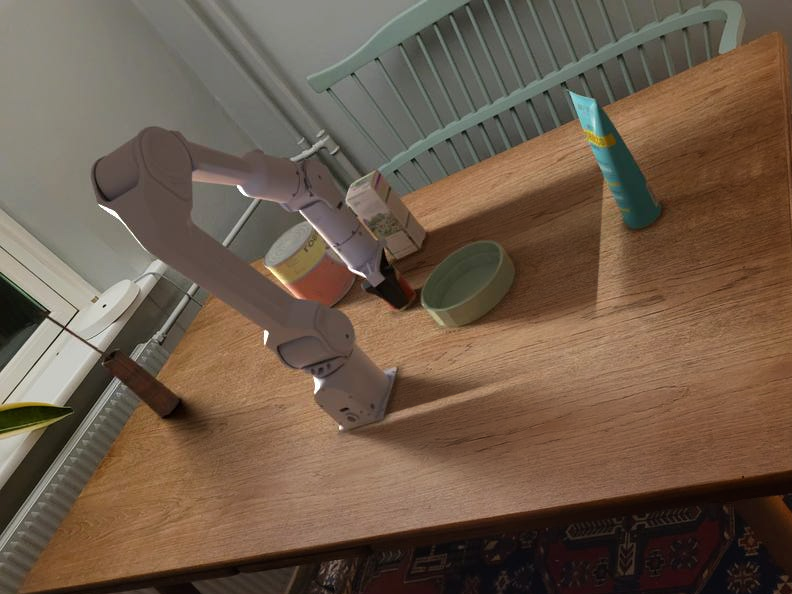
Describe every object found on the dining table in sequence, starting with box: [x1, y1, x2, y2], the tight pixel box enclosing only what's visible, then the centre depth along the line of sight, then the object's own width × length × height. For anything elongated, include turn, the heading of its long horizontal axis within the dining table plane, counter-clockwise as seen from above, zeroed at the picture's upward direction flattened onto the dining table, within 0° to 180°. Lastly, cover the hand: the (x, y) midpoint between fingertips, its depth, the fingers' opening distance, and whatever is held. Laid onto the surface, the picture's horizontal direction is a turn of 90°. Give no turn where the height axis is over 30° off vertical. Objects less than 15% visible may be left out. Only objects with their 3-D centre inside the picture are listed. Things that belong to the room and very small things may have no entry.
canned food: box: [262, 220, 357, 308], centre depth 127 cm, size 11×11×12 cm
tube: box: [566, 88, 662, 230], centre depth 87 cm, size 7×5×19 cm, turn 28°
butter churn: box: [38, 310, 180, 418], centre depth 128 cm, size 9×10×28 cm
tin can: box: [383, 267, 417, 313], centre depth 111 cm, size 5×5×6 cm
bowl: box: [420, 239, 516, 328], centre depth 102 cm, size 14×14×4 cm
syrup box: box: [344, 169, 427, 261], centre depth 120 cm, size 6×6×14 cm
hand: (399, 296), depth 111 cm, fingers open, 6 cm apart
